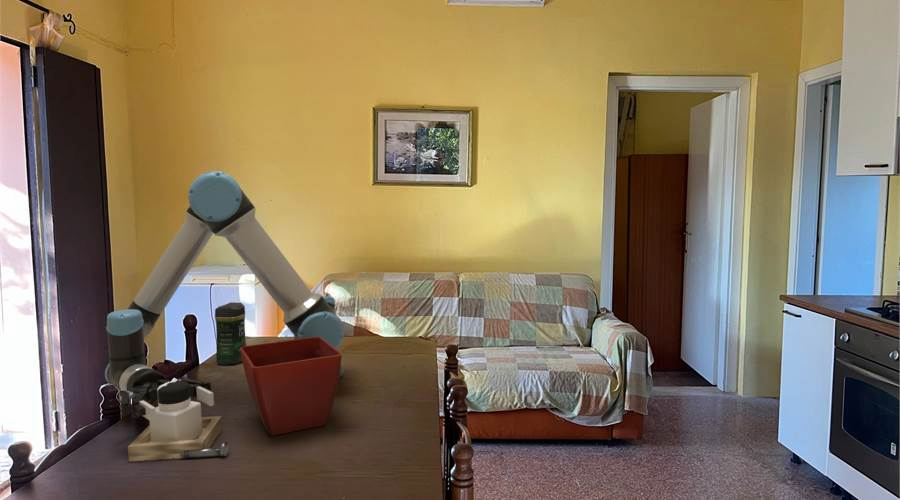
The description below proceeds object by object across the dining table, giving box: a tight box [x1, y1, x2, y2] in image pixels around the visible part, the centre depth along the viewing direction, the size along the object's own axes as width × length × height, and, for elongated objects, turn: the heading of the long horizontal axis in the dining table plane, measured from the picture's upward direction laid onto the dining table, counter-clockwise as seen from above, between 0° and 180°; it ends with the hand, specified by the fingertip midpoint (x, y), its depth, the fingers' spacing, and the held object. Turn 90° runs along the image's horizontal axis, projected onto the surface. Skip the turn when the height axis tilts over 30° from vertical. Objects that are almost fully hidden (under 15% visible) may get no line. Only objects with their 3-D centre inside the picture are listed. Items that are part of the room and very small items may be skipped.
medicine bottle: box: [148, 380, 203, 442], centre depth 121 cm, size 7×7×12 cm
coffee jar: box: [214, 301, 247, 366], centre depth 183 cm, size 10×8×19 cm
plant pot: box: [240, 337, 343, 437], centre depth 133 cm, size 19×19×17 cm
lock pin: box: [180, 441, 229, 459], centre depth 116 cm, size 9×3×3 cm, turn 97°
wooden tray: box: [127, 415, 223, 462], centre depth 122 cm, size 14×14×3 cm
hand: (184, 407), depth 118 cm, fingers open, 11 cm apart
